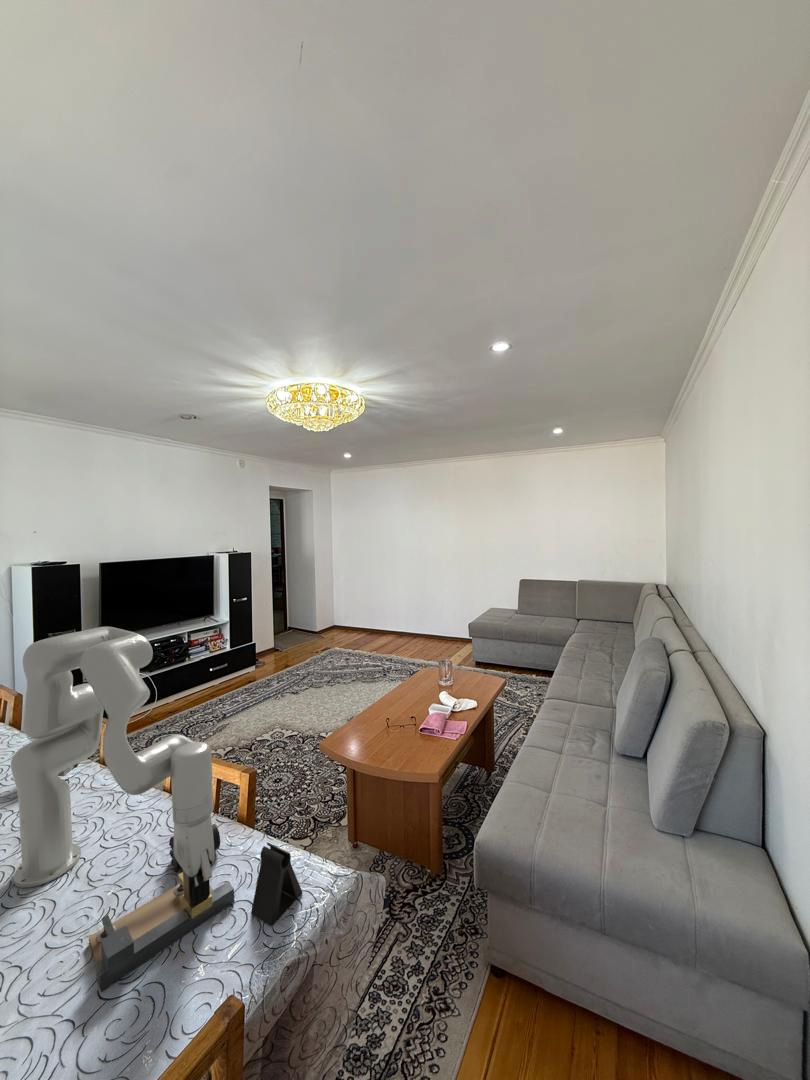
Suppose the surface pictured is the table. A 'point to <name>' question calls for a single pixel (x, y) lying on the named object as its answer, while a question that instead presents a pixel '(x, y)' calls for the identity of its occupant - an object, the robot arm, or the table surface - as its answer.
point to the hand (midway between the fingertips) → (197, 893)
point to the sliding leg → (187, 896)
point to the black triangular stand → (275, 885)
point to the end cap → (173, 861)
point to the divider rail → (151, 939)
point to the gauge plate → (143, 918)
